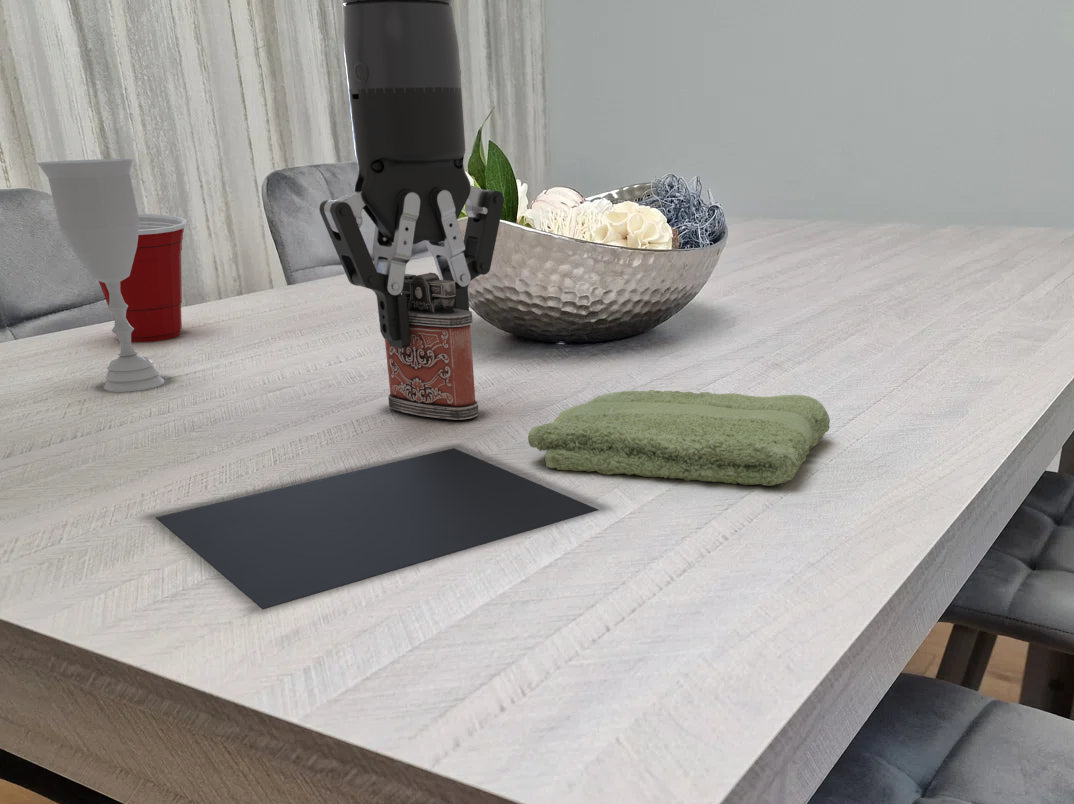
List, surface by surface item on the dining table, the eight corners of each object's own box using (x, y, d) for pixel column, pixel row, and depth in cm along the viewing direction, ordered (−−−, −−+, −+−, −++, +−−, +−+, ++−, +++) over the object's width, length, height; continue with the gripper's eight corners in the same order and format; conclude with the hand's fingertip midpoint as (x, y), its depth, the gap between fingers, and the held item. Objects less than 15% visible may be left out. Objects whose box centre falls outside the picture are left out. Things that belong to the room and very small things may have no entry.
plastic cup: (126, 353, 103) (98, 225, 97) (80, 340, 109) (51, 219, 104) (226, 336, 110) (206, 215, 105) (177, 324, 116) (155, 210, 111)
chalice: (133, 374, 94) (87, 159, 87) (195, 378, 92) (153, 158, 84) (71, 394, 88) (16, 163, 80) (136, 399, 86) (85, 163, 78)
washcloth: (595, 418, 78) (594, 375, 76) (832, 438, 72) (836, 392, 70) (520, 471, 67) (517, 422, 66) (792, 500, 61) (795, 447, 59)
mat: (263, 612, 49) (262, 608, 49) (155, 520, 60) (155, 517, 60) (598, 512, 60) (598, 509, 60) (454, 450, 71) (454, 447, 71)
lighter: (488, 411, 79) (480, 274, 74) (459, 422, 76) (449, 280, 72) (409, 398, 83) (396, 267, 78) (378, 408, 80) (364, 273, 76)
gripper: (465, 85, 76) (480, 322, 84) (281, 85, 68) (315, 348, 76) (524, 82, 71) (534, 336, 78) (331, 82, 63) (363, 364, 70)
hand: (426, 340), depth 77 cm, fingers closed on lighter, 4 cm apart
